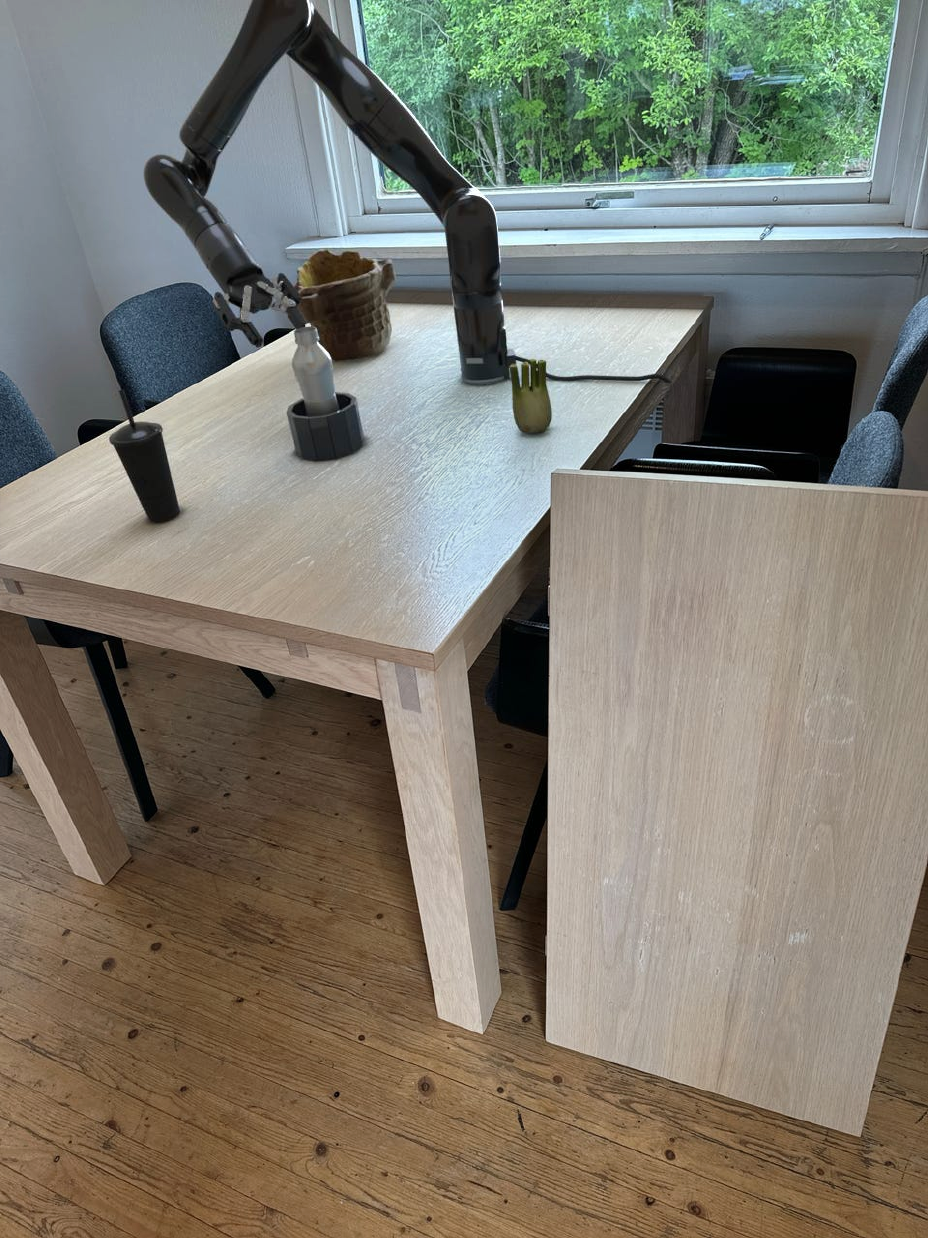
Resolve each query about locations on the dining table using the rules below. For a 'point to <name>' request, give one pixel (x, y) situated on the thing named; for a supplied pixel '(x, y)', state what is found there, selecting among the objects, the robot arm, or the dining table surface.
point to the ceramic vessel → (347, 302)
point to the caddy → (326, 430)
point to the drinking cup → (147, 466)
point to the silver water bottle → (314, 373)
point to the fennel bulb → (531, 397)
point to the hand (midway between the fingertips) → (282, 336)
